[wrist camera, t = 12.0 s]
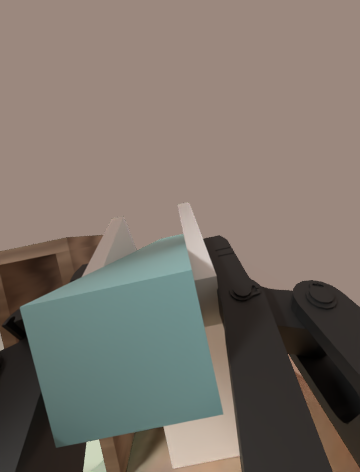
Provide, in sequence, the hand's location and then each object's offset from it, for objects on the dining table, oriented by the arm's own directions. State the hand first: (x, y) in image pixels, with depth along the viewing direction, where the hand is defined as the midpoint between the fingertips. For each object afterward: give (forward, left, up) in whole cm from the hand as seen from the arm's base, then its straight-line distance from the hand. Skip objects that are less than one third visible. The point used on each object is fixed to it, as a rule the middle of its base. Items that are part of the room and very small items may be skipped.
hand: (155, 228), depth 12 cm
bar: (-3, +3, -4) cm, 5 cm away
